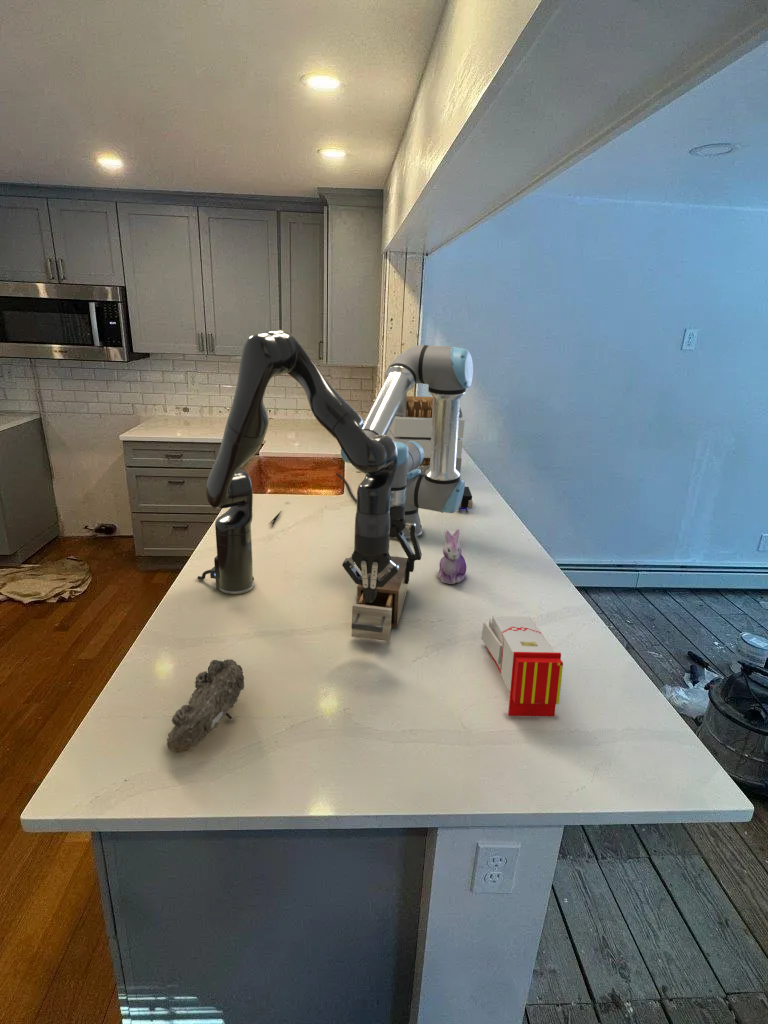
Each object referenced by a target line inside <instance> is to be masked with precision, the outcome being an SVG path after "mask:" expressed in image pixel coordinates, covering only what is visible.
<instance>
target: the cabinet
mask: <svg viewBox="0 0 768 1024" xmlns="http://www.w3.org/2000/svg"><path fill="white" fill-rule="evenodd" d="M390 557H391V561H392V562H393V563H395V564H399V570H398V572H397V573H396V574H395V575H394V576H393V577H392V578H391V579H390V580H389V581H388V582H387V583H386V584H385V585H384V586H383V587H377V592H382V593H390V594H395V600H394V615H393V618H392V621H391V628H398V625H399V621H400V618H401V614H402V610H403V608H404V604H405V600H406V596H407V592H408V584H405V581H406V564H407V559H408V557H403V556H394V555H393V556H392V555H390ZM387 569H388V565H387V566H386V567H385V568H384V569H383V570H382V572H381V573H379V575H378V579H381V578H382V577H383V576H384V575H385V574H386V573H387V572H388V571H387ZM370 584H371V573H370ZM362 593H363V586H362V585H360V584H357V587H356V604H358V602H359V600H360V598H361V595H362Z"/></svg>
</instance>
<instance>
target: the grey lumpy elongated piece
mask: <svg viewBox="0 0 768 1024" xmlns="http://www.w3.org/2000/svg"><path fill="white" fill-rule="evenodd" d="M243 670H244V669H243V667H242V665H240V664H237V662H236V661H235V660H234V659H232V658H231V659H227V658H226V659H224V660H223V661H222V660H217V659H212V660H211V661H210V663H209V665H208V666H207V671H201V672H199V673H198V674H197V675H196V676H195V680H194V684H195V685H194V687H195V689H194V690H193V693H192V694H191V697H190V698H189V700H188V704H184V705H182V706H181V707H180V709H177V710H176V711H175V713H174V715H173V716H172V718H171V723H172V724H173V727H172V730H171V731H170V732H168V734H167V738H166V741H167V742H166V745H167V749H168V750H169V751H173V752H174V753H176V754H178V753H182V752H188V751H189V752H192V751H193V750H195V748H196V747H197V746H199V744H200V743H201V742H203V741H204V740H205V739H206V738H207V737H208V736H209V735H210V734H211V733H212V732H214V730H215V729H217V727H218V726H219V724H220V722H221V721H222V720H223V719H224V718H225V716H226V717H227V719H229V720H233V717H232V715H230V714H229V710H230V709H231V708H234V706H235V704H236V703H237V702H238V699H239V697H240V695H241V693H242V691H243V690H245V689H244V688H245V675H244V671H243Z"/></svg>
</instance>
